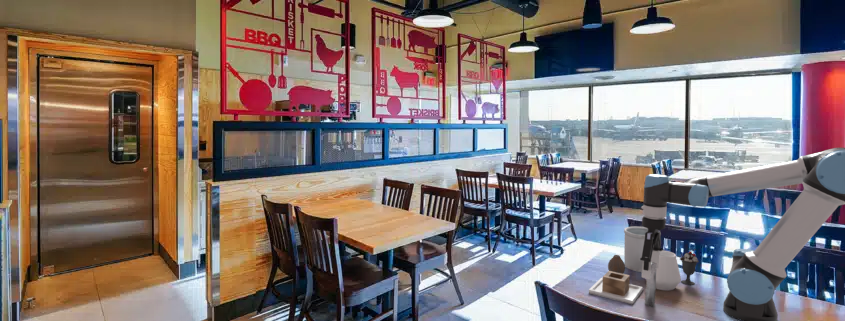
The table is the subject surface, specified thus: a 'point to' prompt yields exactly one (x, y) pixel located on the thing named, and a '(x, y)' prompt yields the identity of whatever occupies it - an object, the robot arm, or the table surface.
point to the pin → (651, 286)
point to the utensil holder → (634, 247)
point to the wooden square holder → (616, 283)
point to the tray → (628, 298)
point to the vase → (616, 265)
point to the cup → (667, 271)
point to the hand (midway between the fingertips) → (650, 272)
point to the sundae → (688, 266)
